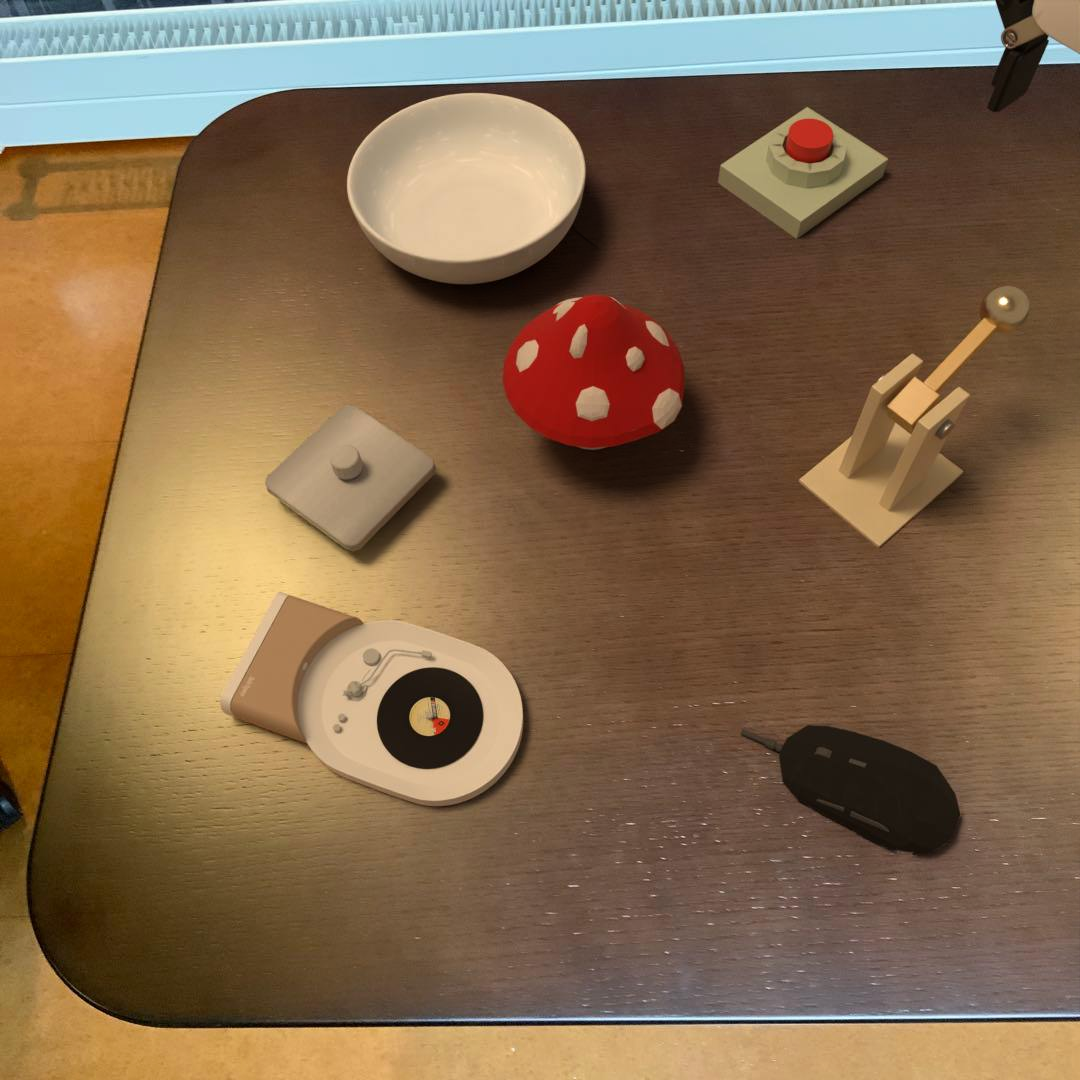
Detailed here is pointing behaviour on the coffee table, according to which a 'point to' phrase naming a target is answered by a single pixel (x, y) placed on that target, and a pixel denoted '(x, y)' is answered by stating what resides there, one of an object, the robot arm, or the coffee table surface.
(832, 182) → the lamp box
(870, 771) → the gaming mouse
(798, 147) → the lamp button
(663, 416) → the decorative mushroom
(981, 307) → the lever
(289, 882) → the coffee table surface
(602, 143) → the coffee table surface
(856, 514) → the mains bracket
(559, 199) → the serving bowl
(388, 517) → the light switch
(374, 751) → the record player
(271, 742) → the coffee table surface
